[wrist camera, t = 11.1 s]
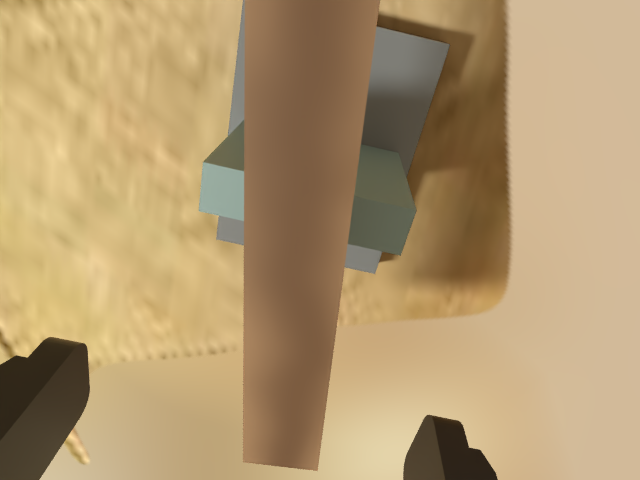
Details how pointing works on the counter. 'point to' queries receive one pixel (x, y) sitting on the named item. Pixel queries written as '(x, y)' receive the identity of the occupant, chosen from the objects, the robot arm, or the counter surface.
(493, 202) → the counter surface
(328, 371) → the walnut bar
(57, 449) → the robot arm
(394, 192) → the ridge stand
